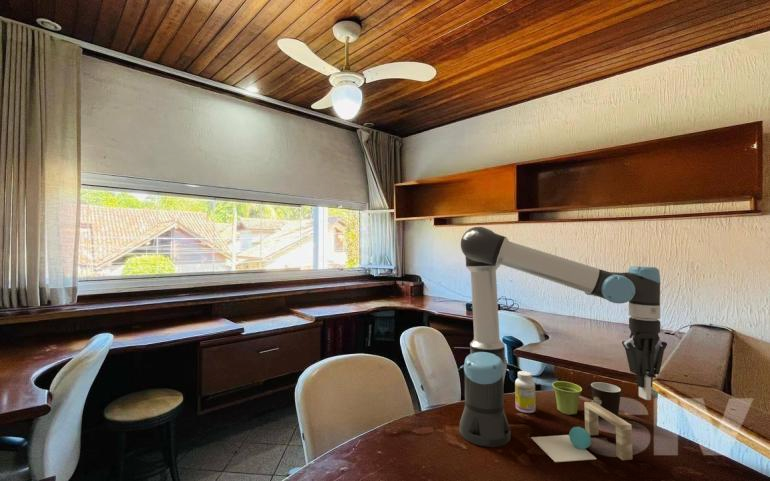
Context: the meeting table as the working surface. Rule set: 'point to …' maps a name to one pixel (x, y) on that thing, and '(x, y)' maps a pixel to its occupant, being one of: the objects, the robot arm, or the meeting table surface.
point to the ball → (580, 437)
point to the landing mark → (562, 449)
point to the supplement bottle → (525, 392)
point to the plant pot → (567, 396)
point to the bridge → (621, 426)
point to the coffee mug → (606, 396)
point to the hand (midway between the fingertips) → (644, 397)
